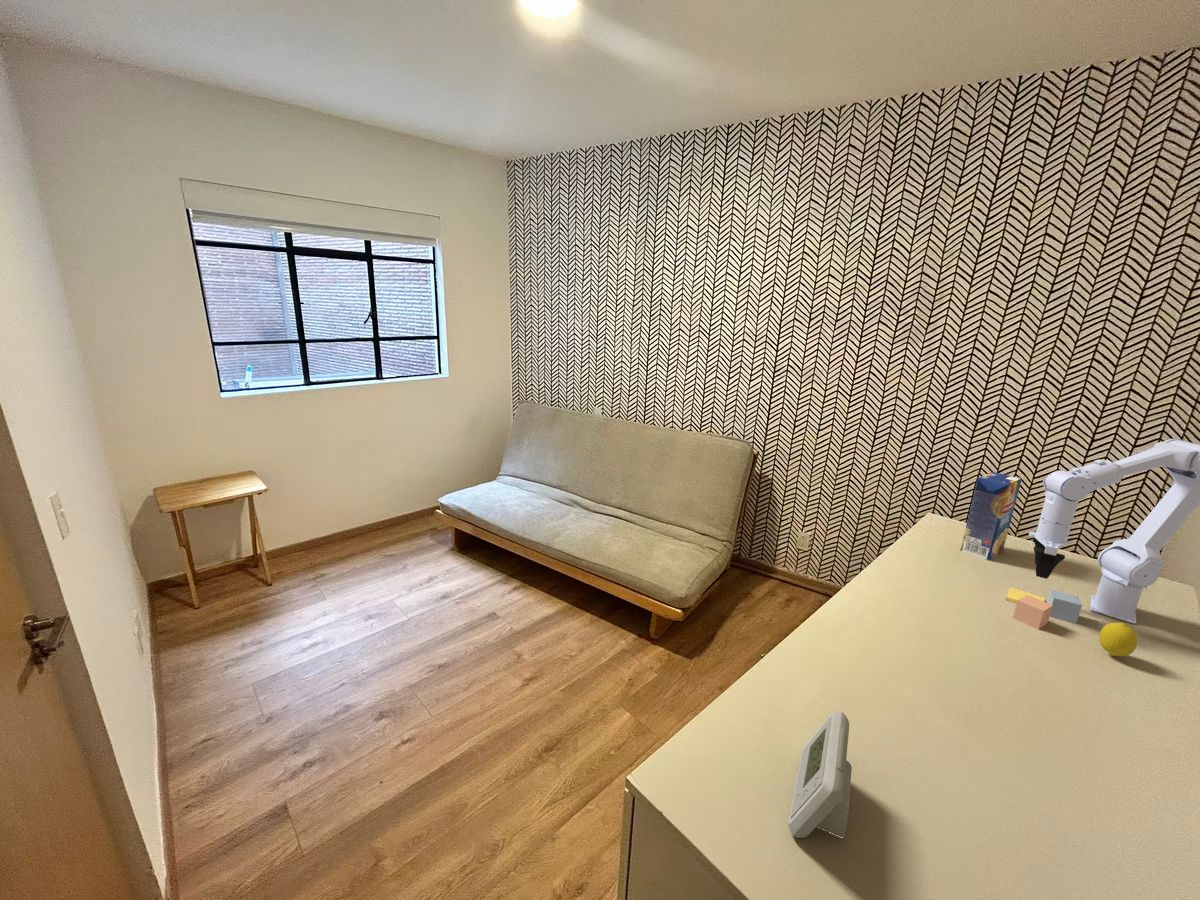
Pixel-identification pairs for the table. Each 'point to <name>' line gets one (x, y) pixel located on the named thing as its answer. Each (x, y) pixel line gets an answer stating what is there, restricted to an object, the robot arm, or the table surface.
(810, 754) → the digital clock
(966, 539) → the juice carton
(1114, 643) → the lemon
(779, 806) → the table surface
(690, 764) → the table surface
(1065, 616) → the slate block
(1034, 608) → the terracotta block
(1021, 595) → the tile
